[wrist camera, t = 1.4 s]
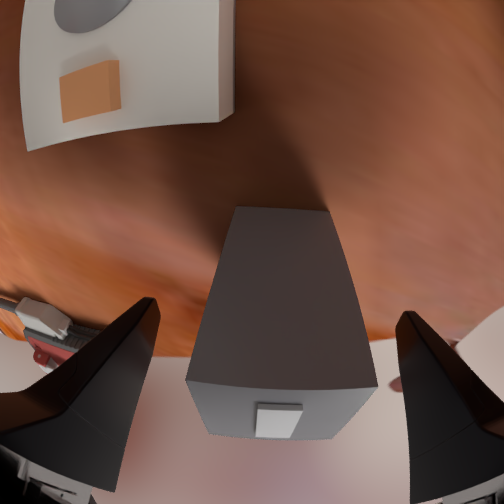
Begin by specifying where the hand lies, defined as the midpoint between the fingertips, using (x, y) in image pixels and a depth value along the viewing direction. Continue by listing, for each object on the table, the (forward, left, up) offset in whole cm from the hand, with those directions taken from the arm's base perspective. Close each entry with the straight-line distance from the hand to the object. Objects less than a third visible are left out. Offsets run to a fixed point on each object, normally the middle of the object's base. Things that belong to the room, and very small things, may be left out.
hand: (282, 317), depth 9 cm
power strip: (+6, -19, -4) cm, 20 cm away
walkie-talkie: (+20, +11, -5) cm, 23 cm away
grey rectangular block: (0, 0, -4) cm, 4 cm away
